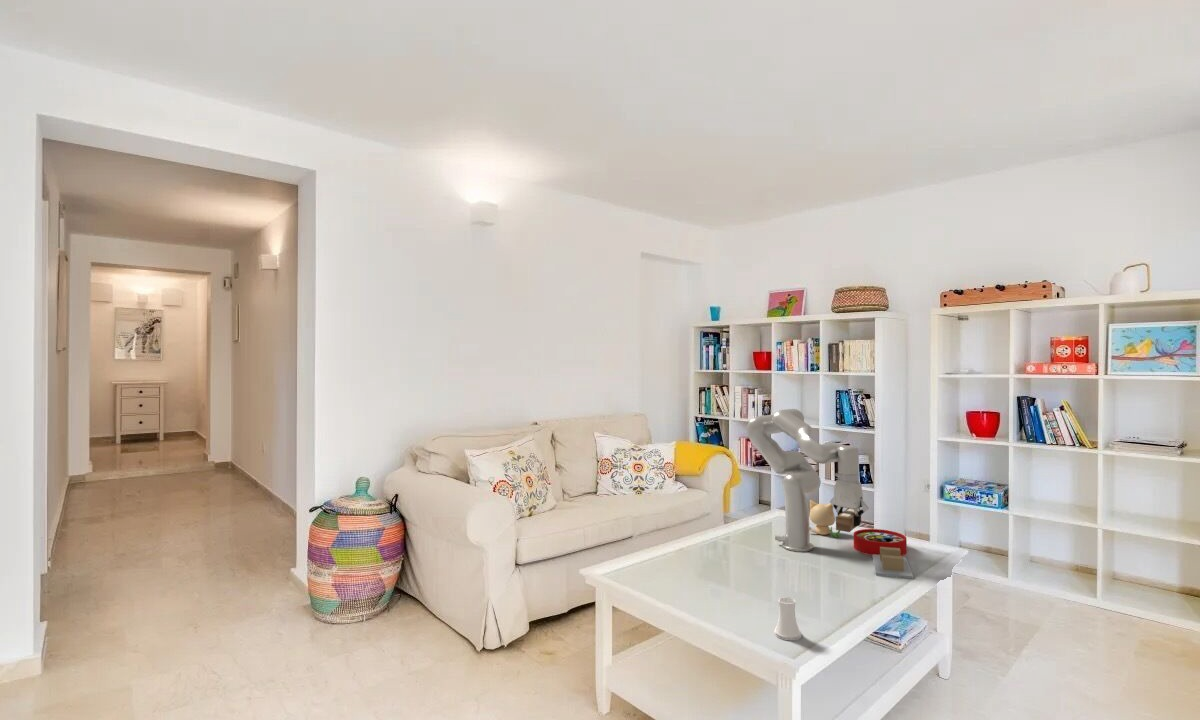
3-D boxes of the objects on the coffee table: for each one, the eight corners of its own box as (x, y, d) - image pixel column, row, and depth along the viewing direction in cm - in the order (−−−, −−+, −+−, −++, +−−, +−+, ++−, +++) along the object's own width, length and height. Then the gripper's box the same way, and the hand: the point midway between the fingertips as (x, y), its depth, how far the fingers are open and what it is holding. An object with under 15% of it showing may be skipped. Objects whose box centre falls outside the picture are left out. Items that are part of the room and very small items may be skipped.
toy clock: (845, 529, 263) (892, 528, 263) (846, 542, 263) (892, 542, 263) (865, 543, 243) (916, 542, 243) (865, 558, 243) (916, 557, 243)
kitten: (844, 534, 274) (843, 501, 274) (835, 540, 267) (834, 505, 267) (812, 528, 284) (811, 496, 284) (802, 533, 277) (802, 500, 277)
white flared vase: (799, 642, 172) (798, 607, 172) (772, 637, 176) (771, 603, 176) (802, 631, 179) (802, 597, 179) (776, 627, 182) (775, 593, 182)
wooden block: (849, 532, 229) (849, 518, 229) (836, 529, 233) (835, 516, 232) (861, 522, 242) (861, 509, 242) (848, 520, 245) (848, 507, 245)
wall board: (876, 575, 223) (876, 560, 223) (872, 556, 244) (872, 542, 244) (913, 578, 219) (912, 563, 219) (905, 559, 239) (905, 545, 239)
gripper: (822, 475, 241) (823, 521, 242) (865, 482, 228) (865, 530, 228) (832, 473, 246) (833, 517, 246) (874, 479, 233) (875, 526, 233)
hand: (848, 523), depth 237 cm, fingers closed on wooden block, 5 cm apart
